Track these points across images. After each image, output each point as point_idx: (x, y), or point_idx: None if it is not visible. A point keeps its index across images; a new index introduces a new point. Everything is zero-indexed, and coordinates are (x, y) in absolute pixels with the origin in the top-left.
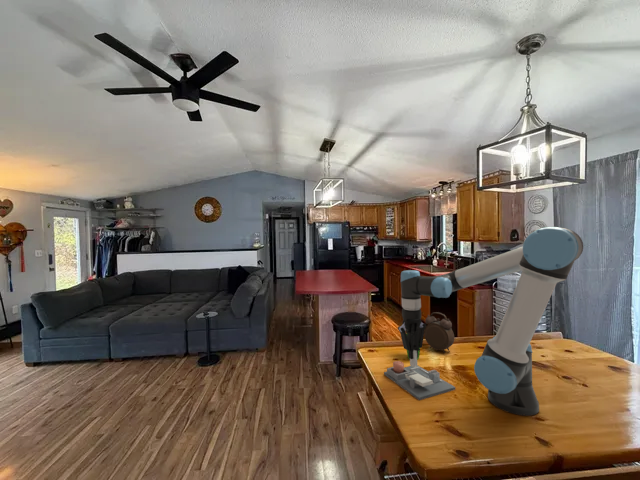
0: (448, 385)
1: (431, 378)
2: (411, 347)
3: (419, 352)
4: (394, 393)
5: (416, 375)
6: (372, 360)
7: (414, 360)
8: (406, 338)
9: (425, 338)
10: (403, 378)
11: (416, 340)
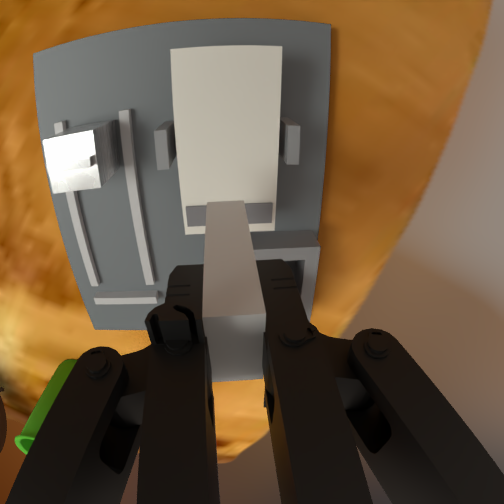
0: (53, 76)
1: (110, 146)
2: (328, 371)
3: (49, 382)
4: (392, 145)
5: (215, 182)
6: (261, 404)
7: (248, 235)
8: (487, 501)
9: (5, 424)
10: (264, 233)
11: (195, 496)
